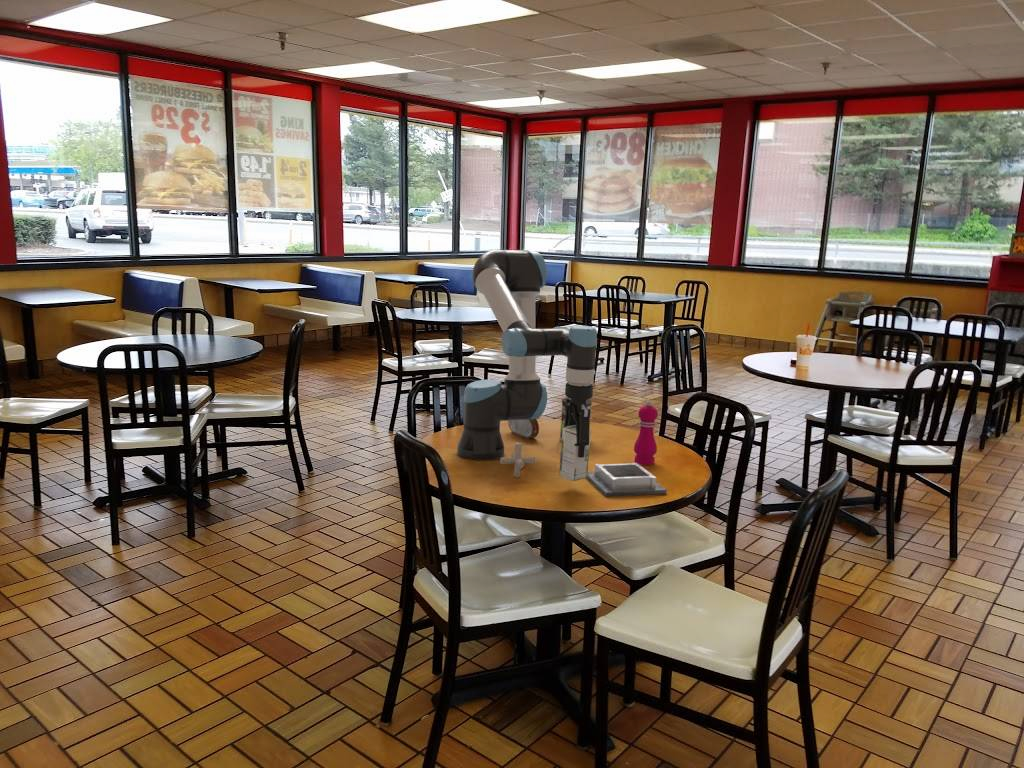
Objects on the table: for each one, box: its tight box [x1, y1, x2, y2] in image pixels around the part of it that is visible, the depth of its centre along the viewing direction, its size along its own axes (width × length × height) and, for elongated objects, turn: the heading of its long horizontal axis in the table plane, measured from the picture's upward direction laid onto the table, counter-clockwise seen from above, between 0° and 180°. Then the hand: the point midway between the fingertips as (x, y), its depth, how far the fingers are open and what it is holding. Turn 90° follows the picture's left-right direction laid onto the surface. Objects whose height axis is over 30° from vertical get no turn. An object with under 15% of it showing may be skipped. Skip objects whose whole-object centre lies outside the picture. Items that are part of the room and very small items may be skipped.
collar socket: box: [586, 462, 668, 498], centre depth 216 cm, size 18×18×4 cm
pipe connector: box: [499, 442, 536, 478], centre depth 219 cm, size 10×10×10 cm
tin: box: [508, 418, 540, 439], centre depth 264 cm, size 15×3×8 cm, turn 37°
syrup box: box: [558, 425, 592, 482], centre depth 209 cm, size 6×6×14 cm
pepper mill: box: [633, 400, 659, 466], centre depth 237 cm, size 7×7×20 cm
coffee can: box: [559, 397, 593, 441], centre depth 261 cm, size 10×10×14 cm
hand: (574, 463), depth 210 cm, fingers closed on syrup box, 7 cm apart
